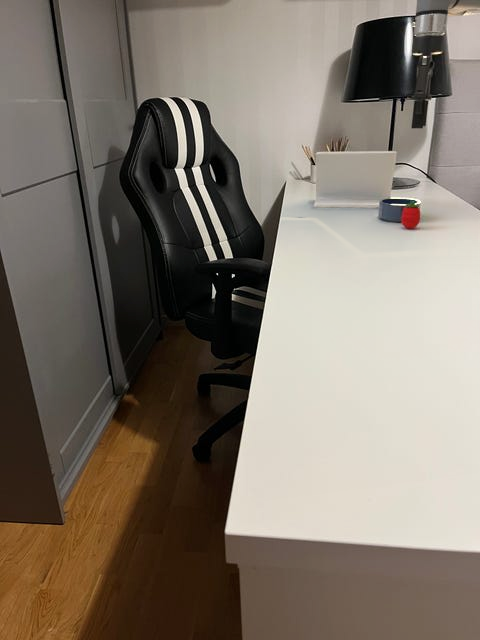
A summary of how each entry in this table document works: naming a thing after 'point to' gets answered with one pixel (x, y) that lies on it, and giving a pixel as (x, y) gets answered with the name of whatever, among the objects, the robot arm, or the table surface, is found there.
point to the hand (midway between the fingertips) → (418, 127)
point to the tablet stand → (354, 178)
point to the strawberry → (411, 215)
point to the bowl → (394, 208)
